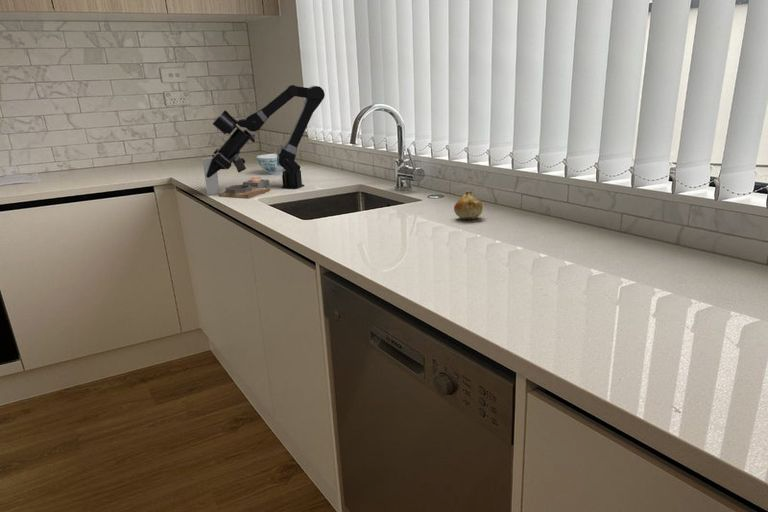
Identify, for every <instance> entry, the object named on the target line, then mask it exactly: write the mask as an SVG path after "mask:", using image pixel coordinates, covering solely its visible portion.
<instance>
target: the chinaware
mask: <svg viewBox="0 0 768 512" xmlns="http://www.w3.org/2000/svg"><path fill="white" fill-rule="evenodd" d="M256 160H257V163H258V165H259V166H260V168H262V170H264V171H265V172H267V174H268V175H274V176H275V175H281V174H282V175H283V171H285V170H284V168H283V167H281V166H280V164H279V163H278V161H277V154H276V153H268V154H267V153H265V154H259V155H257V156H256Z"/></svg>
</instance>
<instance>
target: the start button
mask: <svg viewBox="0 0 768 512" xmlns="http://www.w3.org/2000/svg"><path fill="white" fill-rule="evenodd" d="M261 179H262V178H261V177H259V176H257V177H251V178H249V180H250V181H251V182H260V181H261Z"/></svg>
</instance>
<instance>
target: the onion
mask: <svg viewBox="0 0 768 512" xmlns="http://www.w3.org/2000/svg"><path fill="white" fill-rule="evenodd" d="M453 210H454V211H453V212H454V213H455V215H456V216H457V217H459V218H460V219H462V220H466V219H472V220H474V219H477V218H479V216H481V214H483V204H482V202H481V200H479V199H477V198H476V197H475V195H474V192H473V190H472V189H471V190H466V191H465V193H464V195H462V196H461V197H460V198H459V200H457V202H456V203H455V204H454V207H453Z"/></svg>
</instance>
